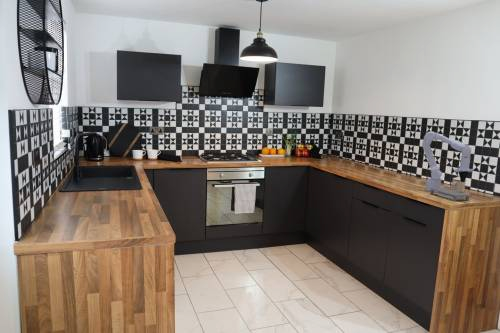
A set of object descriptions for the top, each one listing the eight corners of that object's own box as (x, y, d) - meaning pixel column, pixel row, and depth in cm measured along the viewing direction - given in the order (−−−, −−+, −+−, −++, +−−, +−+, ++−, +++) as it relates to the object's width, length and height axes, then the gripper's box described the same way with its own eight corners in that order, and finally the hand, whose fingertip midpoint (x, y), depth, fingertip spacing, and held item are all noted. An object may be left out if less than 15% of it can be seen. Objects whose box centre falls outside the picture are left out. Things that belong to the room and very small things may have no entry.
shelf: (443, 193, 278) (444, 188, 277) (468, 201, 257) (469, 195, 256) (429, 194, 274) (430, 188, 274) (454, 201, 253) (455, 195, 253)
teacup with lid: (454, 189, 298) (456, 174, 296) (466, 191, 291) (468, 176, 289) (446, 190, 291) (448, 175, 289) (459, 193, 284) (461, 177, 282)
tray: (450, 194, 275) (450, 192, 275) (467, 199, 261) (468, 197, 261) (436, 195, 272) (437, 192, 271) (453, 200, 257) (453, 197, 257)
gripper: (461, 163, 268) (458, 183, 270) (477, 163, 272) (475, 182, 274) (453, 162, 275) (450, 181, 277) (469, 162, 279) (467, 181, 281)
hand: (462, 181), depth 276 cm, fingers closed
